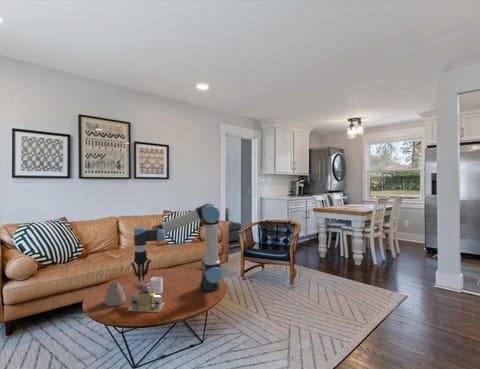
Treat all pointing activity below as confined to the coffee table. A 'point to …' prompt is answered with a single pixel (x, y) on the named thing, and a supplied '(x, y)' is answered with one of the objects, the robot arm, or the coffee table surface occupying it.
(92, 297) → the coffee table surface
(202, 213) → the robot arm
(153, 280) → the mug
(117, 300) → the sculpture
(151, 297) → the valve body
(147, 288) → the lever
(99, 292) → the coffee table surface
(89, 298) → the coffee table surface
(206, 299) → the coffee table surface
